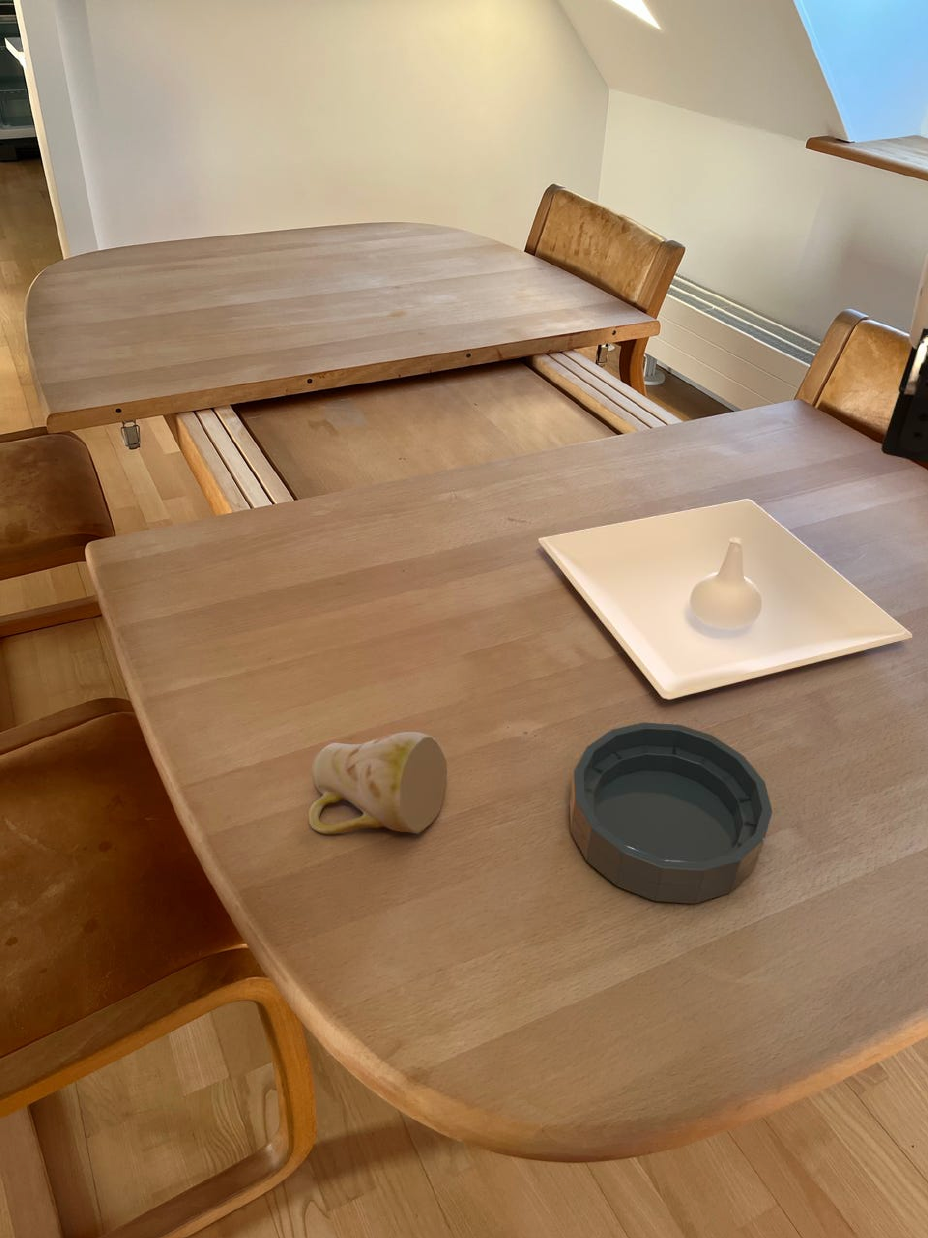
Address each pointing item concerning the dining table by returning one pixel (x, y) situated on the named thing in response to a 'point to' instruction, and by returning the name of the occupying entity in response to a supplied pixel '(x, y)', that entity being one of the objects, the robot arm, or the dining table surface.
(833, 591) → the plate
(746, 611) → the garlic bulb
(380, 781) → the mug
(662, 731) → the bowl
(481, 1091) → the dining table surface
